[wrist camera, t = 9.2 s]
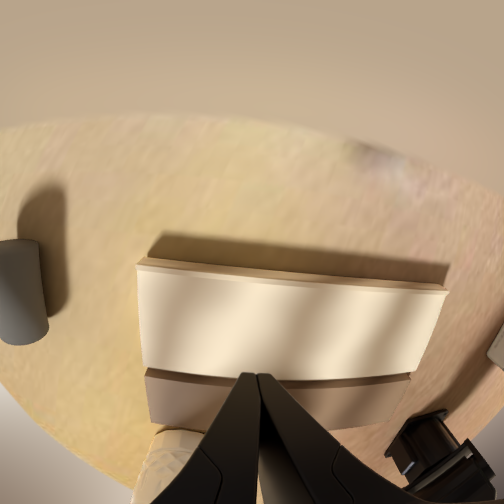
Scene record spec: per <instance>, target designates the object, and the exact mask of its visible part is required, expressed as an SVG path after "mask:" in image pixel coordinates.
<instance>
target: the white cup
mask: <svg viewBox="0 0 504 504" xmlns="http://www.w3.org/2000/svg"><path fill="white" fill-rule="evenodd" d="M203 436H204V434H202V433H198V432H193V431H188V430H166V431H163V432H161V433H159V434H156V435H155V436H154V438H153V440H152V442H151V445H150V448H149V451H148V454H147V457H146V459H145V460H144V462H143V465H142V469H141V471H140V473H139V477H138V480H137V483H136V485H135V488H134V491H133V495H132V498H131V501H130V504H150V503H151V502H152V501H153V500H154V499H155V498H156V497H157V496H158V495H159V494H160V493H161V492H162V491H163V490H164V489H165V488H166V487H167V486H168V485H169V484H170V482H171V481H172V480H173V479H174V478H175V477H176V475H177V474H178V473H179V472H180V471H181V469H182V468H183V467H184V465H185V464H186V462H187V461H188V459H189V458H190V457H191V455H192V453H193V452H194V450H195V449H196V448H197V446H198V444H199V443H200V441H201V439H202V438H203Z"/></svg>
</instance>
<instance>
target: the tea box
mask: <svg viewBox="0 0 504 504" xmlns="http://www.w3.org/2000/svg"><path fill="white" fill-rule="evenodd" d="M487 356H488V358H490V359H491V360H492V361H493V362H494V363H495V364H496V365H497V366H499V367H500V368H501V369H502V370H503V371H504V324H503V325H502V327H501V329H500V331H499V333H498V335H497V336H496V338H495V340H494V341H493V343H492V345H491V347H490V348H489V350H488V352H487Z"/></svg>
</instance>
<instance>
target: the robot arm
mask: <svg viewBox="0 0 504 504" xmlns="http://www.w3.org/2000/svg"><path fill="white" fill-rule="evenodd" d="M447 414H448V410H447V409H444V410H441V411H438V412H434V413H431V414H428V415H424V416H421V417H417V418H413V419H410V420H408V421H407V422H406V423H405V425H404V426H403V428H402V429H401V431H400V432H399V434H398V435H397V437H396V438H395V440H394V441H393V443H392V444H391V445H390V447H389V448H388V450H387V451H386V452H385V454H384V456H385V458H388V457H391V456H392V458H393V460H394V462H395V464H396V466H397V467H398V469H399V471H400V473H401V475H405V477H406V479H407V481H408V482H409V485H407V486H406V487H403V488H400V487H398V486H396V485H395V484H393V483H391V482H390V481H388V480H387V479H385V478H384V477H382V476H380V475H379V474H378V473H376V472H375V471H373V470H372V469H370V468H369V467H368V466H366V465H365V464H364V463H362V462H361V461H360V460H359V459H358V458H356V457H355V456H354V455H353V454H352V453H350V452H349V451H348V450H347V449H346V448H345V447H344V446H343V445H341V446H340V443H339V442H338V441H337V440H336V439H335V438H334V437H333V436H332V435H331V434H330V433H329V432H328V431H327V430H326V429H325V428H324V427H323V426H321V425H320V424H319V423H318V422H317V421H316V420H315V419H314V418H313V417H312V416H311V415H310V414H309V413H308V412H307V411H306V410H305V409H304V408H303V407H302V406H301V405H300V404H299V403H298V402H297V401H296V400H295V399H294V398H293V397H292V396H291V394H290V393H289V392H288V391H287V390H286V389H285V388H284V387H283V386H282V385H281V384H280V383H279V382H278V381H277V380H276V379H275V378H274V377H273V376H272V375H271V374H270V373H257V374H255V373H253V372H241V373H240V375H239V377H238V379H237V380H236V382H235V384H234V386H233V387H232V389H231V391H230V393H229V394H228V396H227V398H226V399H225V401H224V403H223V405H222V406H221V408H220V410H219V411H218V413H217V415H216V416H215V418H214V420H213V421H212V423H211V425H210V426H209V428H208V430H207V431H206V433H205V435H204V436H203V438H202V439H201V441H200V443H199V444H198V446H197V448H196V449H195V450H194V452H193V453H192V455H191V457H190V458H189V459H188V461H187V462H186V464H185V465H184V467H183V468H182V469H181V471H180V472H179V473H178V474H177V475H176V477H175V478H174V479H173V480H172V481H171V482H170V484H169V485H168V486H167V487H166V488H165V489H164V490H163V491H162V492H161V493H160V494H159V495H158V496H157V497H156V498H155V499H154V500H153V501H152V502H151V503H150V504H256V497H257V480H258V475H259V481H260V486H261V491H262V496H263V502H264V504H504V499H499V500H496V496H497V492H496V490H495V488H494V487H493V485H492V484H491V482H490V480H492V479H493V478H494V477H495V476H496V475H495V473H494V472H493V470H492V469H491V468H490V466H489V465H488V464H487V462H486V461H485V459H484V458H483V457H482V456H481V454H480V453H479V452H478V450H477V449H476V448H475V447H474V445H473V444H472V443H471V441H470V440H469V439H468V438H467V439H466V440H465V441H464V443H463V444H462V445H460V444H459V442H458V441H457V440H456V438H455V437H454V436H453V434H452V433H451V432H450V430H449V429H448V428H447V426H446V425H445V424H444V422H443V420H444V418H445V417H446V415H447ZM470 453H473V455H471V456H470V457H469V458H468V459H467V458H466V457H467V456H468V455H469V454H470Z"/></svg>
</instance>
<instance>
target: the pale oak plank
mask: <svg viewBox="0 0 504 504" xmlns="http://www.w3.org/2000/svg"><path fill="white" fill-rule="evenodd" d="M136 270H137V283H138V309H139V325H140V338H141V349H142V359H143V366H146V367H151V368H157V369H163V370H170V371H177V372H184V373H192V374H200V375H210V376H220V377H232V378H238V377H239V375H240V373H241V372H253V373H255V374H257V373H270V374H271V375H272V376H273V377H274V378H275V379H276V380H322V379H344V378H359V377H371V376H381V375H390V374H398V373H405V372H412V371H416V369H417V367H418V364H419V362H420V360H421V358H422V356H423V354H424V351H425V349H426V347H427V344H428V342H429V340H430V337H431V335H432V332H433V330H434V327H435V325H436V322H437V319H438V317H439V314H440V311H441V308H442V305H443V302H444V299H445V296H446V295H449V290H447V289H446V288H444V287H442V286H441V285H439V284H433V283H419V282H405V281H391V280H378V279H365V278H353V277H341V276H329V275H317V274H306V273H295V272H284V271H274V270H263V269H253V268H243V267H233V266H223V265H213V264H204V263H194V262H185V261H176V260H167V259H158V258H149V257H143V258H142V259H141V260H140V261H139V262H138V263H137V264H136Z"/></svg>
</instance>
